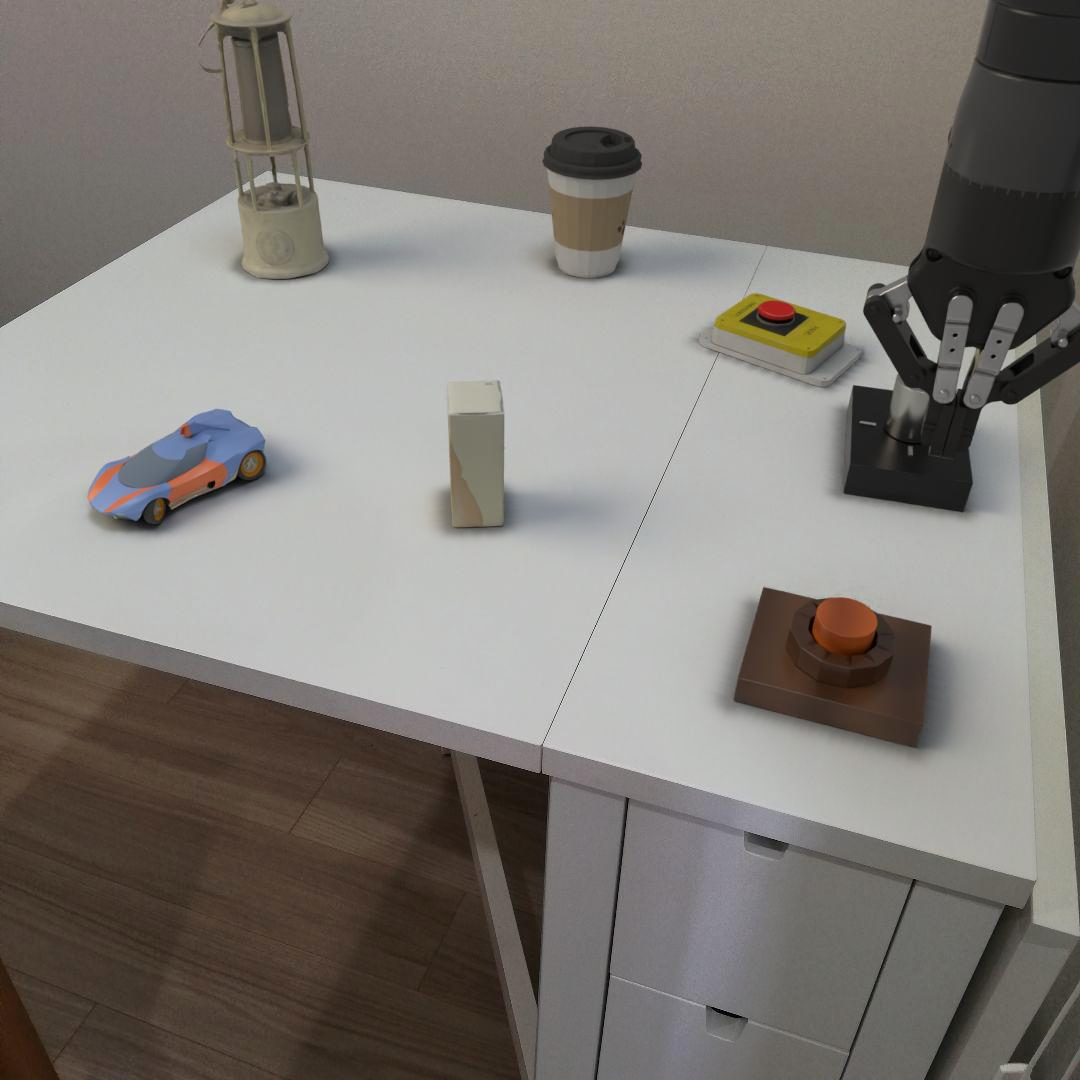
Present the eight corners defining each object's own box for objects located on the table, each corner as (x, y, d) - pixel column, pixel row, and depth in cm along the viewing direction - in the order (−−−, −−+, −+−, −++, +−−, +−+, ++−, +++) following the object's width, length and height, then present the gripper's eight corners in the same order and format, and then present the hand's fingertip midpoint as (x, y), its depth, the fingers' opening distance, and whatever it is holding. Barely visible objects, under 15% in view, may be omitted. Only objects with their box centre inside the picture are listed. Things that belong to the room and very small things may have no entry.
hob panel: (963, 511, 89) (973, 481, 87) (843, 493, 91) (850, 462, 89) (954, 427, 100) (963, 398, 98) (846, 411, 102) (853, 383, 100)
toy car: (73, 504, 88) (56, 450, 84) (226, 433, 97) (216, 382, 93) (126, 545, 83) (110, 490, 80) (280, 468, 92) (272, 415, 89)
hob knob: (882, 438, 93) (896, 385, 89) (885, 413, 96) (899, 361, 93) (934, 447, 92) (950, 394, 88) (935, 422, 95) (951, 369, 92)
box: (450, 492, 90) (446, 378, 83) (501, 490, 90) (500, 376, 84) (452, 530, 86) (447, 413, 79) (505, 528, 86) (505, 411, 79)
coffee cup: (637, 287, 123) (647, 157, 114) (539, 284, 123) (542, 154, 114) (631, 247, 132) (640, 124, 123) (540, 245, 132) (543, 122, 123)
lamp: (284, 287, 121) (244, -1, 102) (208, 258, 127) (157, -19, 108) (347, 258, 128) (320, -18, 109) (272, 232, 133) (234, -34, 115)
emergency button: (743, 276, 115) (872, 316, 108) (738, 313, 118) (863, 354, 111) (700, 305, 110) (833, 349, 103) (695, 343, 112) (825, 389, 105)
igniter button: (874, 624, 73) (880, 605, 72) (869, 662, 70) (874, 643, 69) (816, 610, 74) (820, 591, 73) (808, 647, 71) (812, 628, 70)
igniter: (924, 647, 76) (938, 606, 74) (915, 748, 69) (930, 705, 66) (758, 608, 79) (767, 567, 77) (733, 700, 72) (741, 658, 69)
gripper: (881, 168, 52) (822, 463, 62) (1178, 202, 48) (1061, 507, 59) (894, 124, 57) (837, 401, 68) (1161, 151, 54) (1057, 439, 65)
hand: (942, 450), depth 63 cm, fingers closed
